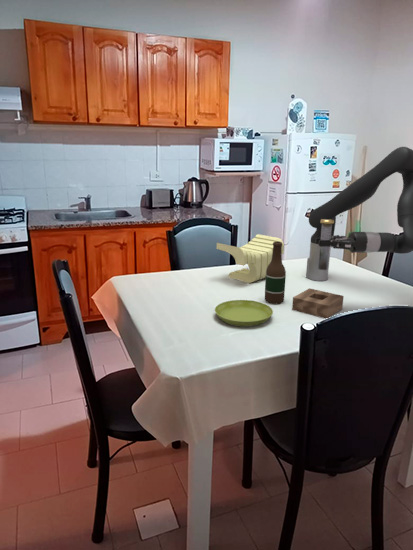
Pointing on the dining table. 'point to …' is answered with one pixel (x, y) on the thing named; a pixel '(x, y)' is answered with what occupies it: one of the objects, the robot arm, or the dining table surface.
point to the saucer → (243, 312)
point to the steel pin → (325, 250)
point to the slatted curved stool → (252, 257)
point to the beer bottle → (275, 277)
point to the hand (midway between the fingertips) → (317, 242)
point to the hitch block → (317, 303)
